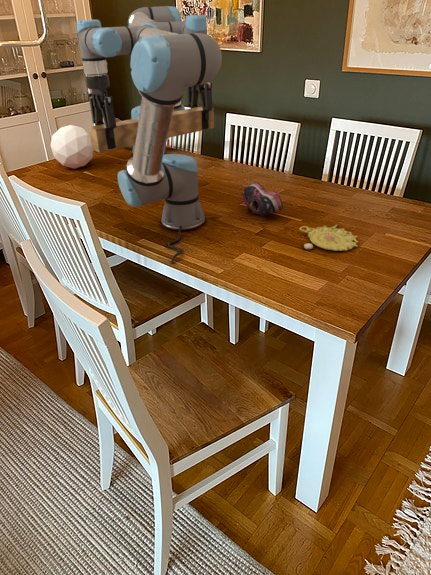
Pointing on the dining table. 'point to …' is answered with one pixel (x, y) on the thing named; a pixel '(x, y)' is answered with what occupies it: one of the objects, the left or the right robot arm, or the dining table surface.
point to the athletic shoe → (261, 200)
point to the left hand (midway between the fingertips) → (200, 127)
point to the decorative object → (330, 238)
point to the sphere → (72, 146)
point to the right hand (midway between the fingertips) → (107, 146)
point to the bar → (127, 129)
